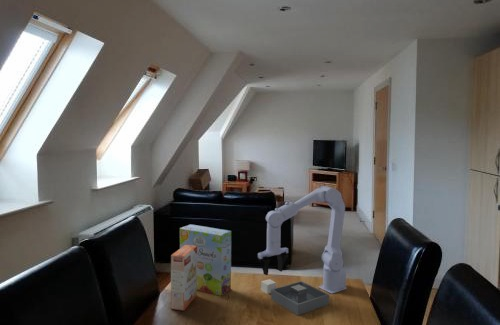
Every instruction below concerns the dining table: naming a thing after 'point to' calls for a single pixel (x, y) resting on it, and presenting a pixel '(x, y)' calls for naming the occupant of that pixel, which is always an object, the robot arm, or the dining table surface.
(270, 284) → the white cube
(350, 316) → the dining table surface
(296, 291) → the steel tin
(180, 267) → the cracker box
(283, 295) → the tote
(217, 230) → the snack box
